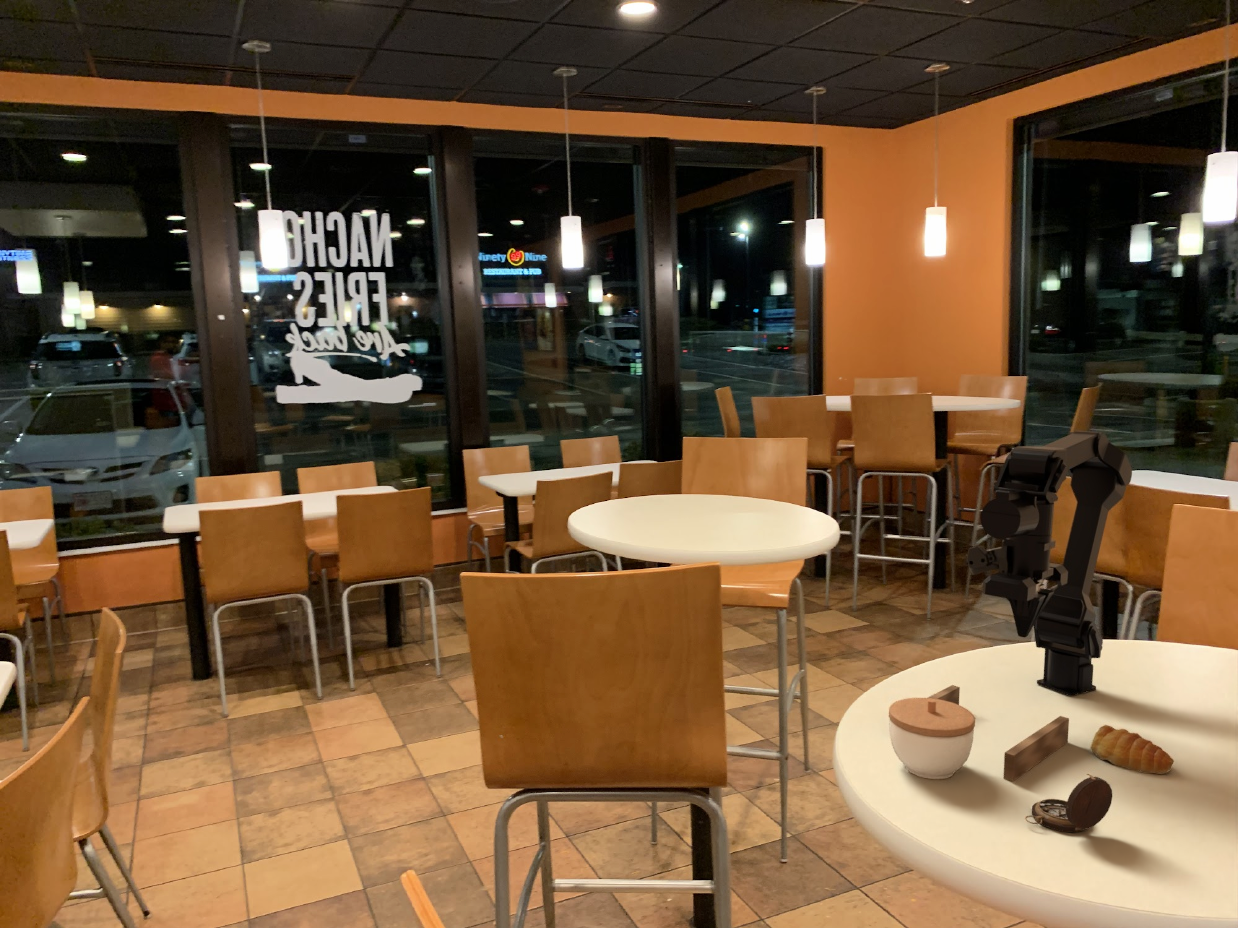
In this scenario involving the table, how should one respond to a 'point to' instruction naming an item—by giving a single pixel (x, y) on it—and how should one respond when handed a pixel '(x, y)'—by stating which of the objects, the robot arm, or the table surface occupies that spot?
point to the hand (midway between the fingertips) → (1022, 636)
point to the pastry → (1130, 751)
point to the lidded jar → (931, 736)
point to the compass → (1075, 807)
